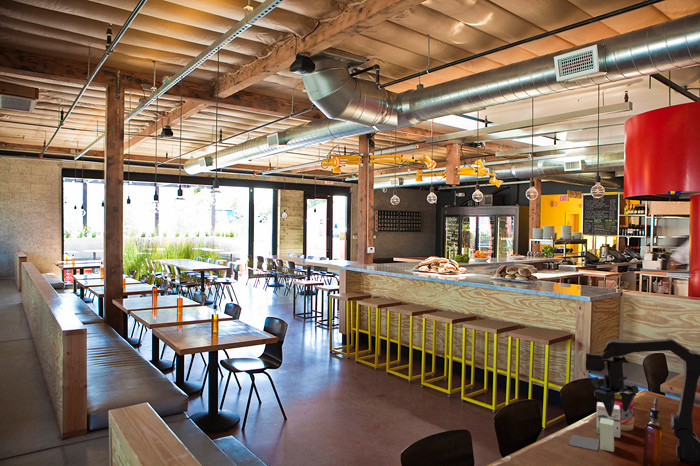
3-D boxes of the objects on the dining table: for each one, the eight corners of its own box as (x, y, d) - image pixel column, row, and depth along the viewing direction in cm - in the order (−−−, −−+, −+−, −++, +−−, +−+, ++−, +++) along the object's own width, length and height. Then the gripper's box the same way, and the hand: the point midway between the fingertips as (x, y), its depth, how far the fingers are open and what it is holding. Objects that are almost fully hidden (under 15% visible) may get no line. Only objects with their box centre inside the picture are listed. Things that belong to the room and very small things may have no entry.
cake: (609, 419, 205) (608, 385, 206) (636, 425, 198) (635, 390, 199) (603, 426, 197) (603, 391, 198) (632, 432, 190) (631, 396, 191)
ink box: (596, 433, 190) (596, 405, 190) (596, 429, 194) (596, 401, 194) (620, 438, 185) (620, 408, 186) (620, 433, 190) (620, 405, 190)
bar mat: (599, 440, 183) (599, 439, 183) (597, 451, 174) (597, 450, 174) (571, 435, 188) (571, 434, 188) (568, 445, 179) (568, 444, 179)
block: (614, 445, 178) (613, 420, 179) (613, 451, 173) (613, 425, 173) (600, 443, 181) (600, 417, 181) (600, 449, 176) (599, 422, 176)
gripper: (611, 365, 189) (613, 403, 188) (580, 371, 181) (582, 411, 180) (638, 371, 179) (640, 411, 178) (607, 378, 171) (609, 420, 170)
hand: (617, 413), depth 177 cm, fingers open, 9 cm apart
